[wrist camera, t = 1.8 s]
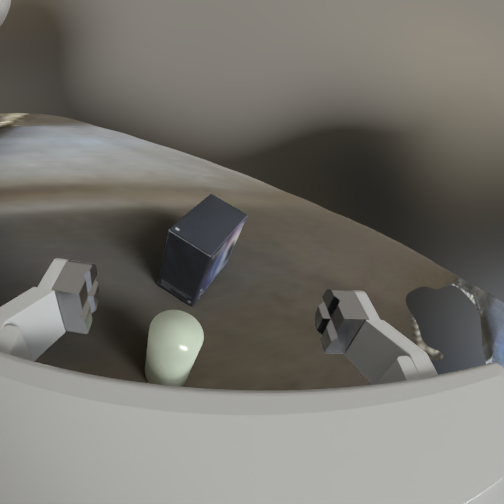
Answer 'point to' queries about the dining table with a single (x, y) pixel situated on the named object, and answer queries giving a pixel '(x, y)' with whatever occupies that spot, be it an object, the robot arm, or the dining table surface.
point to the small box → (199, 248)
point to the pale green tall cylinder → (172, 347)
